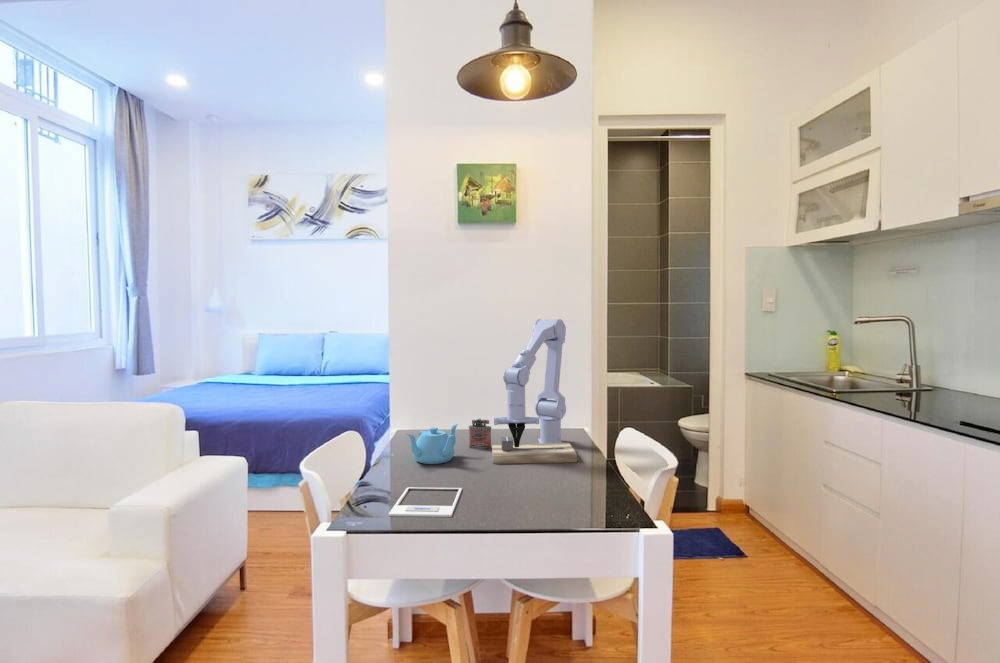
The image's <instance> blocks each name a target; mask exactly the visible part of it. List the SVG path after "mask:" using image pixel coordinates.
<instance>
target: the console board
mask: <svg viewBox="0 0 1000 663" xmlns="http://www.w3.org/2000/svg"><path fill="white" fill-rule="evenodd" d="M491 447H492V448H491V452H492V453H491V454H492V456H491V457H492V464H493V465H496V464H497V465H498V464H499V465H500V464H501V465H502V464H505V465H506V464H507V465H508V464H541V463H542V464H545V463H547V464H550V463H553V464H554V463H578V453H577V452H576V451H575V448H574V447H573V446H572V445H571V443H570V442H562V443H539V442H538V443H537V442H536V443H534V442H533V443H531V442H530V443H519V447H515V446H514V443H513V450H502V447H501V443H491Z"/></svg>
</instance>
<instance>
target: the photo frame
mask: <svg viewBox="0 0 1000 663" xmlns="http://www.w3.org/2000/svg"><path fill="white" fill-rule="evenodd" d="M409 490H441V491H442V490H444V491H445V490H447V491H449V490H451V491H456V490H457V492H456V496H455V498H454V501H453V503H452V505H417V504H416V505H411V504H410V505H408V504H407V505H406V504H405V505H404V504H402V505H401V502H402V501H403V499H404V498H405V497H406V495H407V494H408V493H409ZM462 490H463V488H462V487H427V486H426V487H417V486H416V487H415V486H414V487H413V486H411V487H410V486H409V487H408V486H407V487H406V488H405V489H404V491H403V492H402V494H401V495H400V497H399V498H398V499H397V501H395V502H396V503H395V504H394V505H393V507H392V508H391V510H390V511H389V512H388V515H387V516H388V517H423V518H424V517H432V518H434V517H435V518H452V516H453V514H454V512H455V509H456V507H457V503H458V500H459V498H460V496H461V493H462Z"/></svg>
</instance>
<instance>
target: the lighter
mask: <svg viewBox="0 0 1000 663" xmlns="http://www.w3.org/2000/svg"><path fill="white" fill-rule="evenodd" d="M471 424H472V425H468V431H469V432H468V433H469V435H468V436H469V444H468V448H469V449H472V450H489V451H490V450H492V431H491V430H492V426H490V425H489V424H490V420H489V419H481V418H478V419H471Z"/></svg>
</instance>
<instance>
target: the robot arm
mask: <svg viewBox="0 0 1000 663" xmlns="http://www.w3.org/2000/svg"><path fill="white" fill-rule="evenodd" d="M532 330H533V333H532V336H531V337H530V340H529V342H528V343H527V346H526V349H522V350H520V352H519V353H518V356H517V357H516V358H515V361H514V362H513V364H512V365H511V366H510V367H508V368H506V369H505V371H504V374H503V382H504V383H505V389H506V390H507V392H506V393H507V416H502V417H494V418H493V426H497V425H508V428H509V431H510V433H511V435H512V436H511V437H512V439H513V444H514V446H515V447H519V444H521V443H520V442H521V439H522V435H523V434H524V431H525V428H526V425H540V429H539V430H540V432H539V433H540V434H539V436H540V438H537V440H538V443H563V441H562V438H561V437H562V427H561V425H562V420H563V419H564V417H565V416H566V412H567V406H566V398H565V396H564V395H563V394H562V393H561V392H560V381H561V380H560V379H561V378H560V377H561V367H562V354H563V346H564V345H563V344H565V343H566V331H567V326H566V324H565V323H564V321H563V320H562V319H561V318H559V319H542V318H539V319H537V320H535V322H534V324H533V326H532ZM543 344H545V345H546V347H547V351H546V363H545V374H544V376H545V377H544V386H543V387H544V388H543V391H541V392H540V393H538V395H537V399H536V403H535V405H534V406H535V407H534V411H535V414H536V415H537V416H526V385H527V384H528V383H529V379H530V374H531V369H532V367H533V365H534V364H535V362H536V360H537V357H536V354H537V352H538V351H539V350H540V349H541V347H542V346H543Z"/></svg>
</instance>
